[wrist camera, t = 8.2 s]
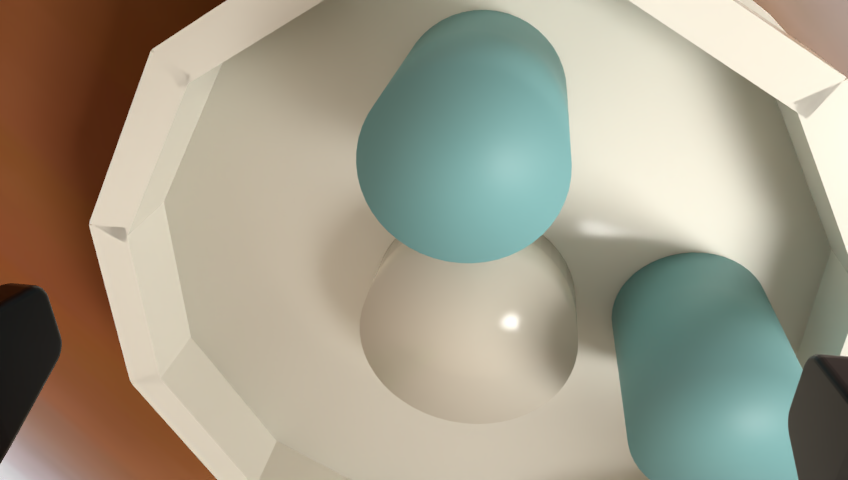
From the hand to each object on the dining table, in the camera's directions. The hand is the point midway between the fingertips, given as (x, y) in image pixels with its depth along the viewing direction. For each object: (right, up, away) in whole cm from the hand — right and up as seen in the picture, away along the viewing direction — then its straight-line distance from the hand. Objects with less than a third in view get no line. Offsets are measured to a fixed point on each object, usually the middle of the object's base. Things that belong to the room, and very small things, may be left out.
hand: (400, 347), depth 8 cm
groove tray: (+2, 0, +12) cm, 12 cm away
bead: (+2, +5, +9) cm, 10 cm away
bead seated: (+7, -1, +11) cm, 13 cm away
